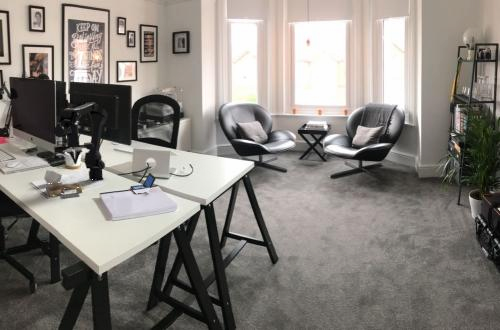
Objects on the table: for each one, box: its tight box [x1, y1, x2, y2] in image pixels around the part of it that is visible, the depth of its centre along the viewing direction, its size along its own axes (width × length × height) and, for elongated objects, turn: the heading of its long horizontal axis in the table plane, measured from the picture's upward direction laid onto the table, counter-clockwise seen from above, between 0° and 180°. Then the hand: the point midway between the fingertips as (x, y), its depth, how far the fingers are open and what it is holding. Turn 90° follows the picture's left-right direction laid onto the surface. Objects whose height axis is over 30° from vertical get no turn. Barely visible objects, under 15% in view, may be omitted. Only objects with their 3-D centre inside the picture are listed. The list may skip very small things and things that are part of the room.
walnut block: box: [48, 181, 65, 194], centre depth 214 cm, size 6×6×4 cm
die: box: [43, 168, 63, 184], centre depth 230 cm, size 8×9×10 cm
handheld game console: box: [130, 172, 156, 190], centre depth 221 cm, size 12×11×7 cm
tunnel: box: [45, 182, 83, 198], centre depth 216 cm, size 16×11×3 cm
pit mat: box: [60, 192, 80, 199], centre depth 210 cm, size 8×6×1 cm
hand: (75, 163), depth 221 cm, fingers closed
